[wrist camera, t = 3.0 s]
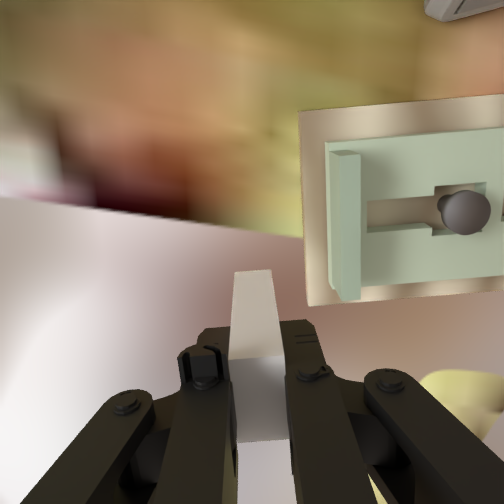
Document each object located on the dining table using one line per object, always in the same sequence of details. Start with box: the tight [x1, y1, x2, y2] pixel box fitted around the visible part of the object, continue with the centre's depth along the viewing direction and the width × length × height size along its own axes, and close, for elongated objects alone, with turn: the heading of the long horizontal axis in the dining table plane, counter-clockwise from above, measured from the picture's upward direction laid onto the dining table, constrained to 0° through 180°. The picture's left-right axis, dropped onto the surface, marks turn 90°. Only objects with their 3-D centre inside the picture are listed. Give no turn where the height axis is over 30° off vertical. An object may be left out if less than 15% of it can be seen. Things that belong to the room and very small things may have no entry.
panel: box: [325, 126, 504, 301], centre depth 27 cm, size 22×10×4 cm, turn 95°
